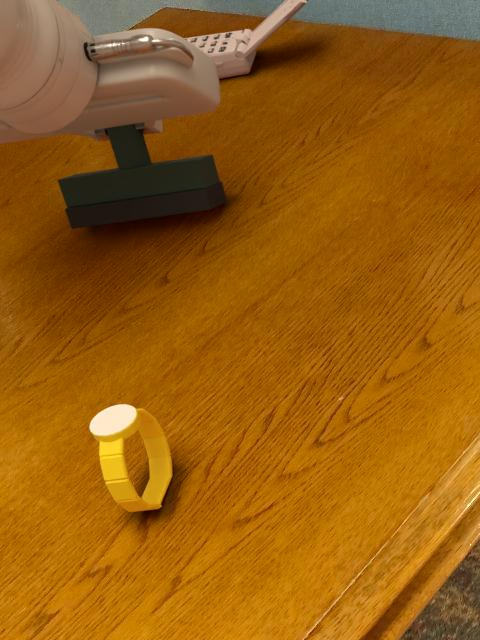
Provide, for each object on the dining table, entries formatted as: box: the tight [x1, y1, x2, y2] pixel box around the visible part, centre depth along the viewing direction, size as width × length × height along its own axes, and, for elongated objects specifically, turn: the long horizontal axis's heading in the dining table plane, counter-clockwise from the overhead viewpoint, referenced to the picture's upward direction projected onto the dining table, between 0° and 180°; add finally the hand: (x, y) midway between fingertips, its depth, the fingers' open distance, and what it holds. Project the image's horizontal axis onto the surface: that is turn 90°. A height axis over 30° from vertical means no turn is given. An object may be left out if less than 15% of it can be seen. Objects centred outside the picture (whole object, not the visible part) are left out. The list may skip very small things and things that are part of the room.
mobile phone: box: [182, 0, 309, 80], centre depth 100 cm, size 6×6×25 cm
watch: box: [89, 403, 173, 513], centre depth 59 cm, size 6×3×6 cm, turn 0°
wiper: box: [57, 124, 228, 230], centre depth 80 cm, size 12×4×12 cm, turn 89°
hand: (130, 127), depth 81 cm, fingers closed on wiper, 2 cm apart
